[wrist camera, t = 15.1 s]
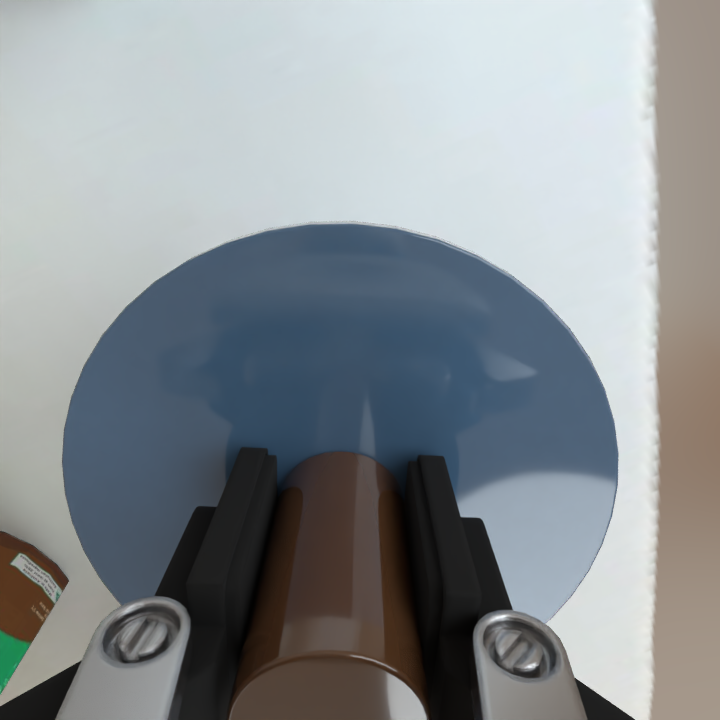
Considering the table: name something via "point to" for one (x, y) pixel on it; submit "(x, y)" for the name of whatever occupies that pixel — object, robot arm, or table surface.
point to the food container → (23, 599)
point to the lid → (340, 445)
